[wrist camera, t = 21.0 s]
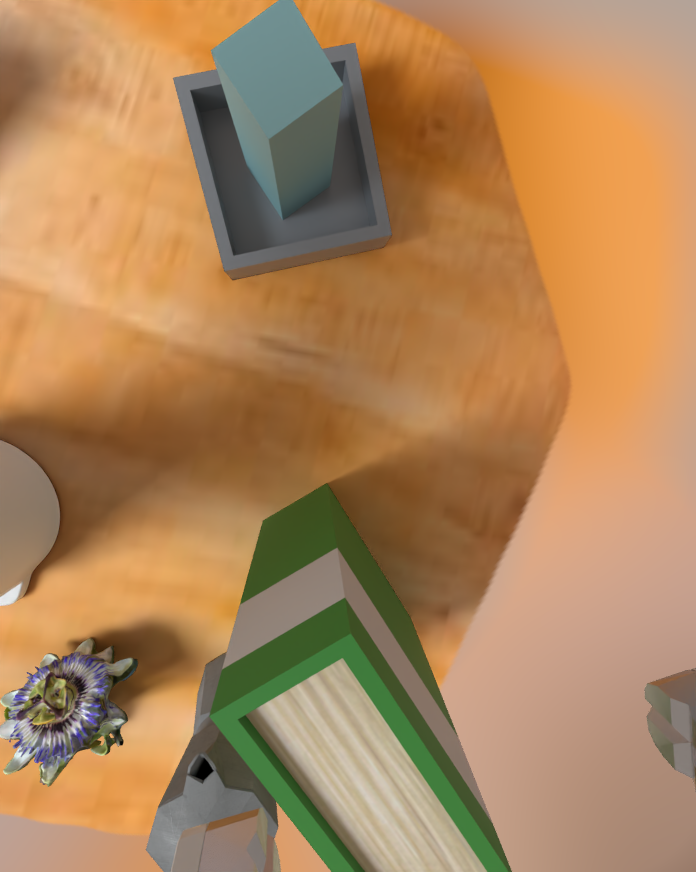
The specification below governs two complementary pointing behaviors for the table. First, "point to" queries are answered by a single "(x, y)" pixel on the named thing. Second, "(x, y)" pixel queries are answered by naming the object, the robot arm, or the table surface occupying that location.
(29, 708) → the passion flower
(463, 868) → the hardback book
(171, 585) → the table surface
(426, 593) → the table surface
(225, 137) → the box
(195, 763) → the coffeepot
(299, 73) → the tall teal prism
